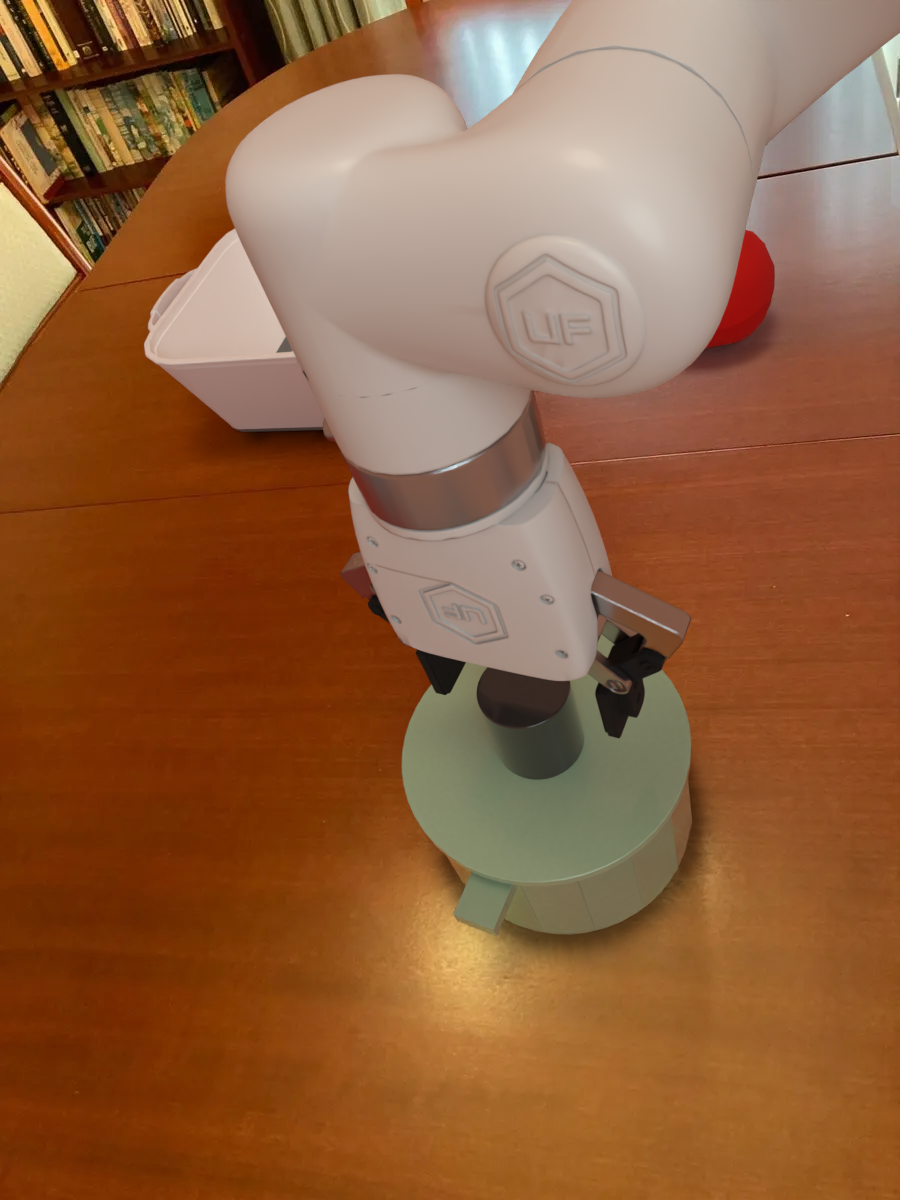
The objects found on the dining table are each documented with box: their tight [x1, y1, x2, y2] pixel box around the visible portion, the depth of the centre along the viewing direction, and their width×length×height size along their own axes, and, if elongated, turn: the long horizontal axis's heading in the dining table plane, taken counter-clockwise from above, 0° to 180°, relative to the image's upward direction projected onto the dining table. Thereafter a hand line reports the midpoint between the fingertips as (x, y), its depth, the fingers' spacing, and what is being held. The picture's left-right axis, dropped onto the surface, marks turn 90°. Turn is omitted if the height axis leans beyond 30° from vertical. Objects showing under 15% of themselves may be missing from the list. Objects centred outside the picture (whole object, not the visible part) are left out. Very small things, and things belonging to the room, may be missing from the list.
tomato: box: [705, 229, 776, 349], centre depth 81 cm, size 13×12×11 cm
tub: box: [143, 228, 324, 433], centre depth 91 cm, size 34×27×13 cm
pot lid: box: [401, 634, 693, 886], centre depth 49 cm, size 17×17×7 cm
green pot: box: [446, 778, 693, 937], centre depth 54 cm, size 16×21×8 cm
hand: (534, 692), depth 46 cm, fingers open, 9 cm apart
